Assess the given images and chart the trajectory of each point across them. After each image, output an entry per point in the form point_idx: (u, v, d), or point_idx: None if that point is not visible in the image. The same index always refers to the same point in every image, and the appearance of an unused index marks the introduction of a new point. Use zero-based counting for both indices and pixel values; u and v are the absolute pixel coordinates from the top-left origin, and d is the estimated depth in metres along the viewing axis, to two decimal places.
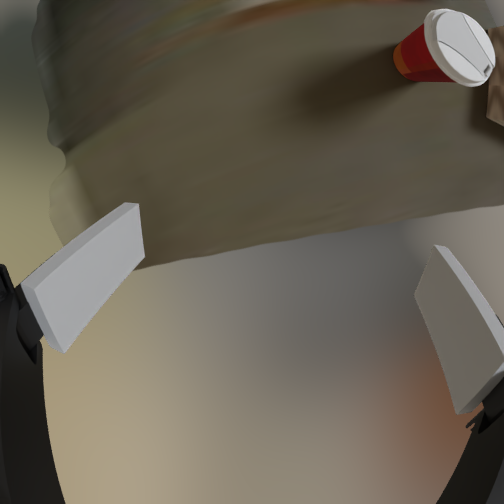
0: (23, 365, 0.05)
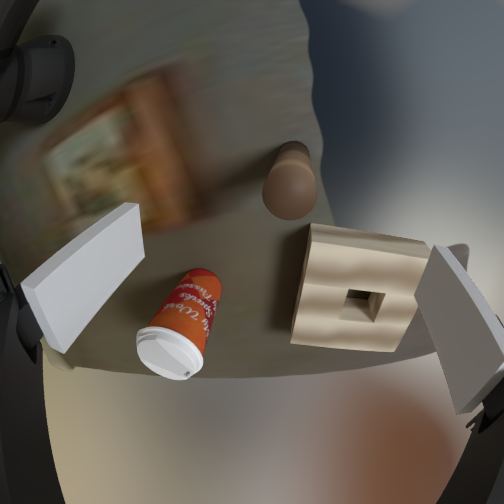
0: (23, 365, 0.05)
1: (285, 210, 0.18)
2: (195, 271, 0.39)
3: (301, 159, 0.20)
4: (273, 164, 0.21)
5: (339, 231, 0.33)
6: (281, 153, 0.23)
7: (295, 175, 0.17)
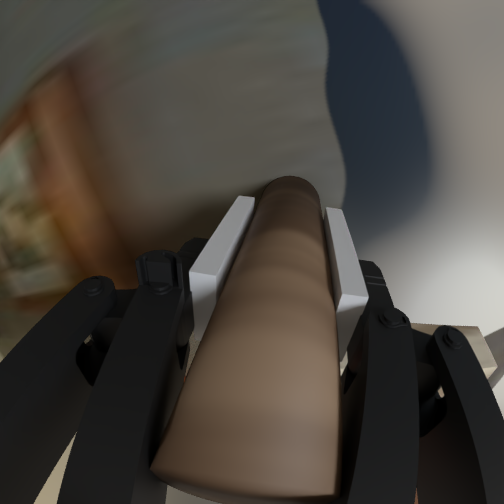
0: (173, 374, 0.06)
1: (233, 502, 0.04)
2: None
3: (304, 303, 0.06)
4: (219, 298, 0.07)
5: None
6: (253, 237, 0.09)
7: (261, 487, 0.03)
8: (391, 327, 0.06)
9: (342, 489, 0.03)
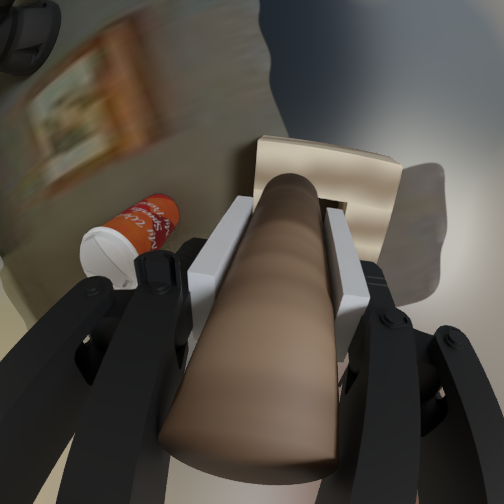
0: (171, 373, 0.06)
1: (237, 475, 0.05)
2: (152, 195, 0.37)
3: (302, 283, 0.07)
4: (223, 282, 0.08)
5: (292, 140, 0.31)
6: (254, 228, 0.10)
7: (264, 446, 0.04)
8: (392, 327, 0.06)
9: (343, 489, 0.03)
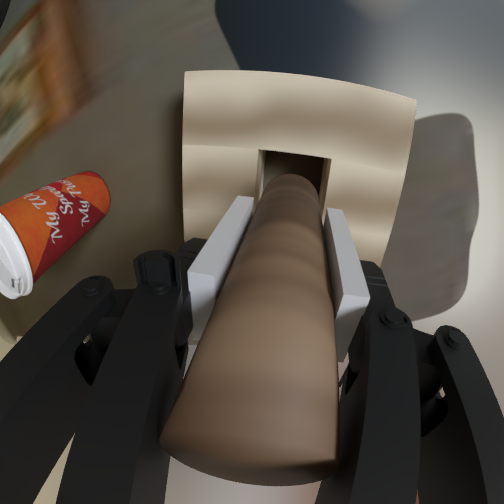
0: (171, 373, 0.06)
1: (237, 476, 0.05)
2: (78, 173, 0.26)
3: (302, 285, 0.07)
4: (224, 284, 0.08)
5: None
6: (254, 229, 0.10)
7: (265, 448, 0.04)
8: (393, 327, 0.06)
9: (343, 489, 0.03)
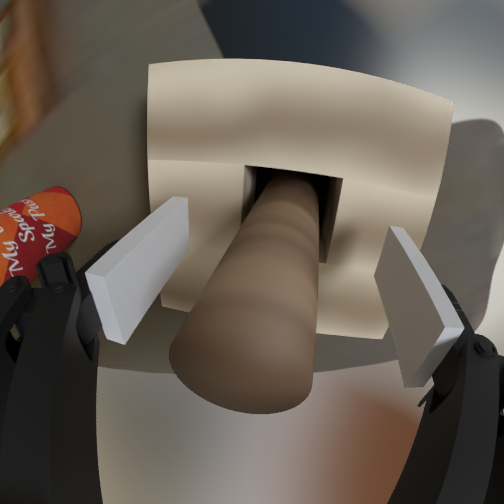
0: (79, 363, 0.06)
1: (230, 399, 0.07)
2: None
3: (289, 243, 0.09)
4: (229, 245, 0.10)
5: None
6: (256, 207, 0.12)
7: (249, 345, 0.06)
8: (484, 355, 0.05)
9: (427, 495, 0.03)
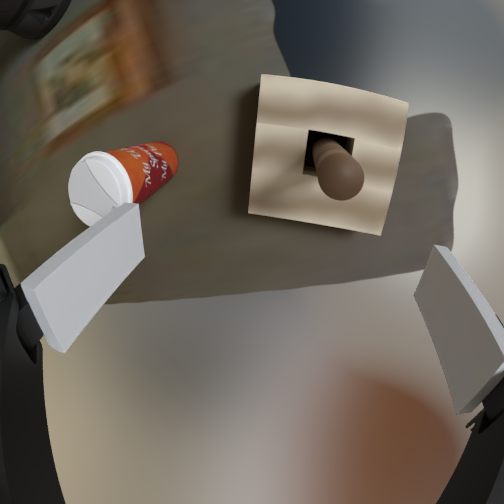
0: (23, 365, 0.05)
1: (336, 191, 0.20)
2: None
3: (344, 150, 0.22)
4: (319, 153, 0.23)
5: None
6: (322, 145, 0.25)
7: (347, 161, 0.19)
8: None
9: None
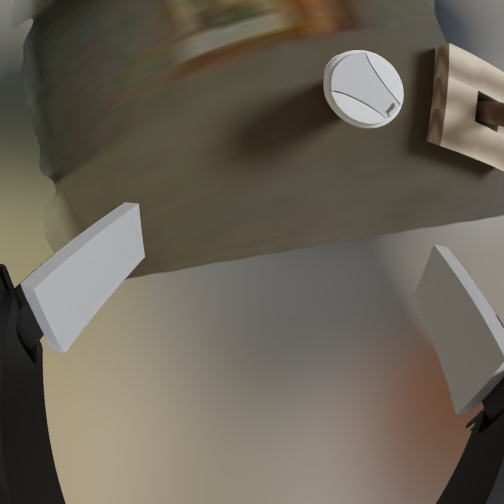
0: (23, 365, 0.05)
1: None
2: None
3: None
4: (502, 106, 0.20)
5: None
6: (493, 102, 0.22)
7: None
8: None
9: None
